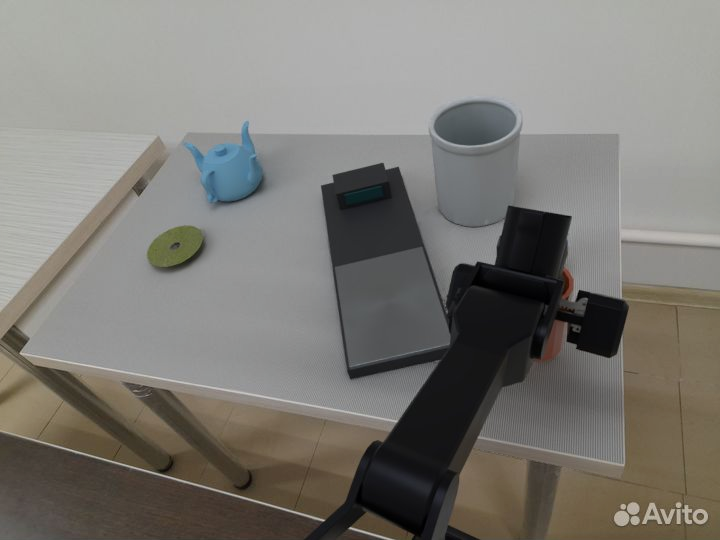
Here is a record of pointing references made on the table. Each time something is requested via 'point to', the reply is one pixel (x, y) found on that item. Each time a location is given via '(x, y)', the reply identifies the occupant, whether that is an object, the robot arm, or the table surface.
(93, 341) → the table surface
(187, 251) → the mat
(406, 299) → the scale
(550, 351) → the cup
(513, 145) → the utensil holder
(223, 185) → the teapot
